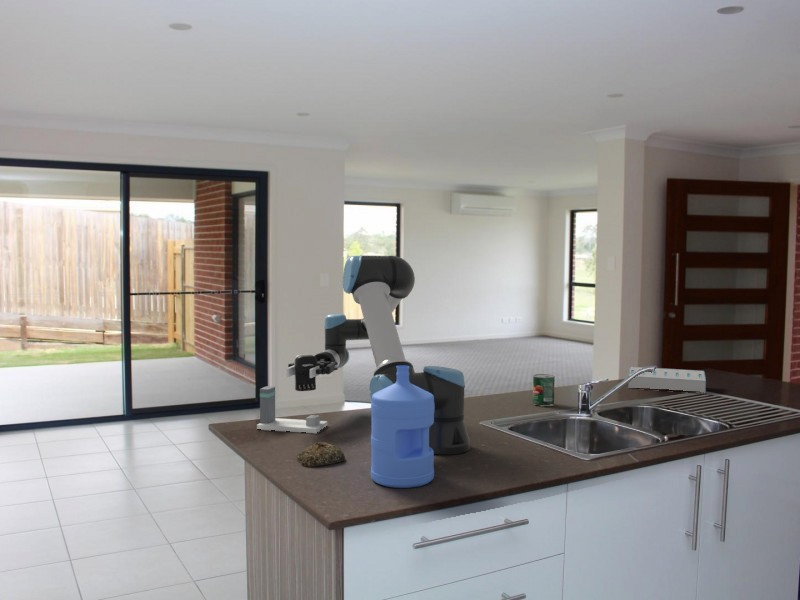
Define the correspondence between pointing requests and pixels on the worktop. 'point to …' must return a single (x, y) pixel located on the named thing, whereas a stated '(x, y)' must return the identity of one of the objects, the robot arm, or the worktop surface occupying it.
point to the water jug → (402, 434)
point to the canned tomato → (543, 389)
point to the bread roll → (320, 455)
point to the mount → (278, 424)
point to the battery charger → (304, 372)
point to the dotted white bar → (669, 379)
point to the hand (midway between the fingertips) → (299, 373)
